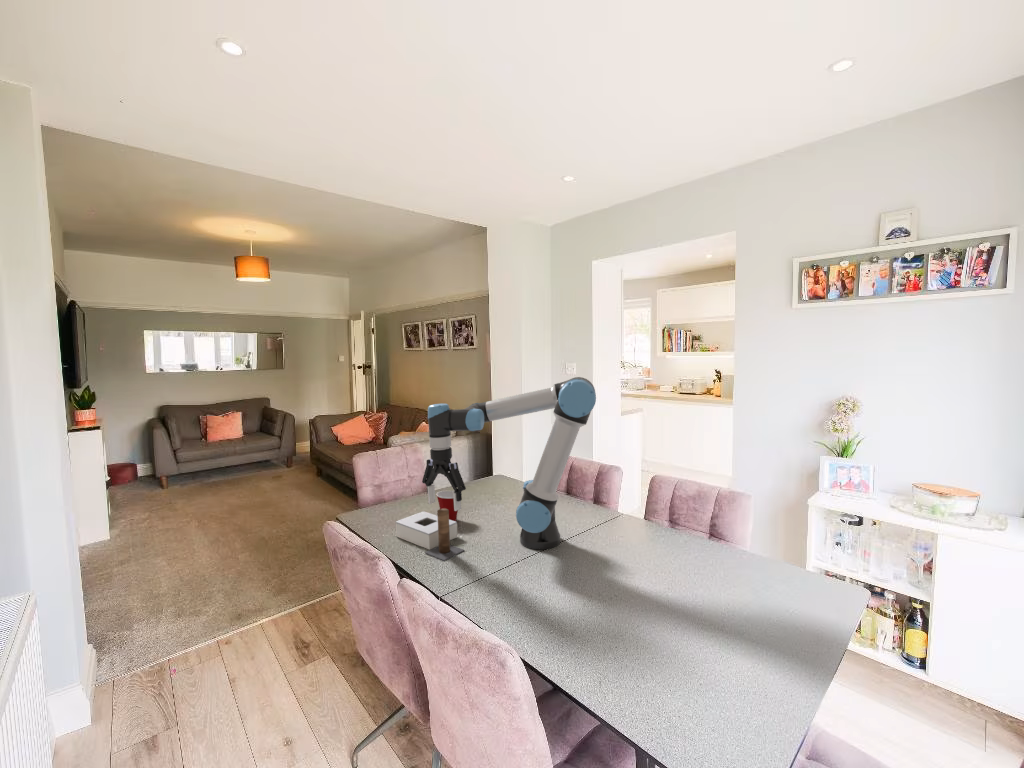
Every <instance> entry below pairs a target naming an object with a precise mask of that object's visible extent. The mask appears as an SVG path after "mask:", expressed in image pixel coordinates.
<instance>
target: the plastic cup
mask: <svg viewBox="0 0 1024 768" xmlns="http://www.w3.org/2000/svg"><path fill="white" fill-rule="evenodd" d="M453 492H454V490H441V491H438V492H435V497H436V498H437V501H438V507H439V509H448V510H449V520H452V521H455V522H457V520H458V519H457V518H458V513H459V512H458V511H459V510H457V511H454V498H453ZM461 494H463V493H462V492H461Z"/></svg>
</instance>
